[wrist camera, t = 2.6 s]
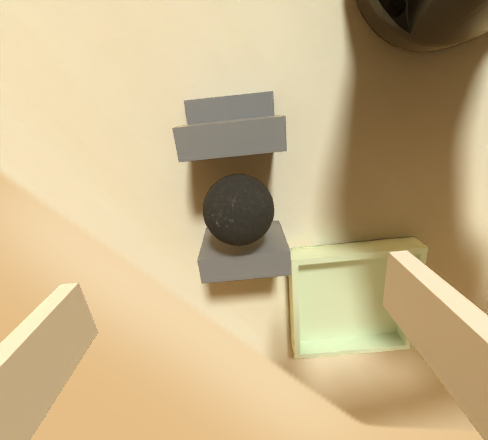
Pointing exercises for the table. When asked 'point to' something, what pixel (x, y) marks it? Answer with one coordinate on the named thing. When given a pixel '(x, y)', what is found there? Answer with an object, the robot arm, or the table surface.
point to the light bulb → (238, 210)
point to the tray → (344, 298)
